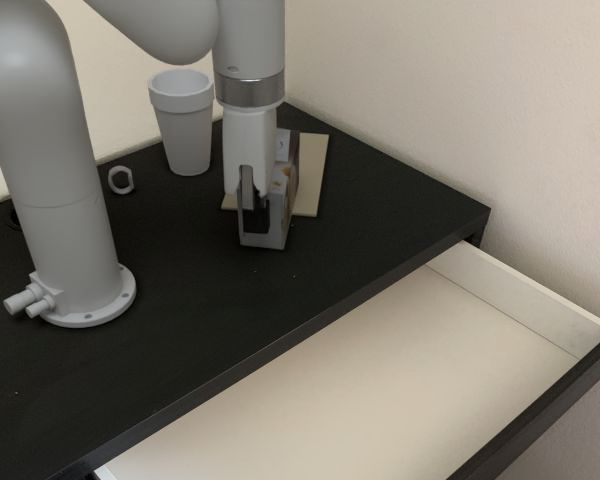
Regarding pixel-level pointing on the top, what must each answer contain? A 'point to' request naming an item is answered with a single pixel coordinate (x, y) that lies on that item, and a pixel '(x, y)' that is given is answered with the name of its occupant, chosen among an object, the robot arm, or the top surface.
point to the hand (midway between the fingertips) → (256, 229)
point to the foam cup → (184, 117)
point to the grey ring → (130, 178)
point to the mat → (302, 176)
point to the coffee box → (277, 193)
